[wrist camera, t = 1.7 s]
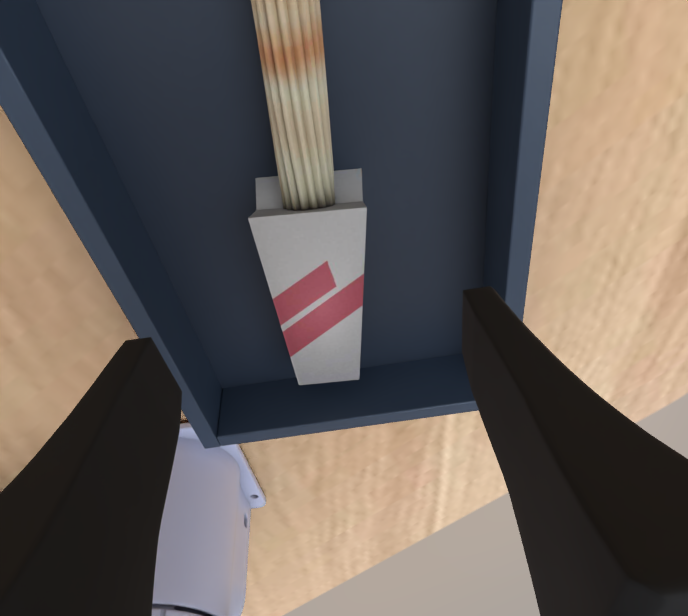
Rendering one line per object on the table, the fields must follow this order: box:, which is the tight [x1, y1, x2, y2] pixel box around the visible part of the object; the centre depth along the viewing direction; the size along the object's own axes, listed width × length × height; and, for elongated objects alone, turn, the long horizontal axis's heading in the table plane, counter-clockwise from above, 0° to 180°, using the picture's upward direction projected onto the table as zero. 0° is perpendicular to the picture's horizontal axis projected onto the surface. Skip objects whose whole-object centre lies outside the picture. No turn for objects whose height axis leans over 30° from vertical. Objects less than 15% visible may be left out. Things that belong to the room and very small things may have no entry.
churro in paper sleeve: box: [248, 0, 367, 385], centre depth 18 cm, size 4×3×20 cm
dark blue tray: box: [0, 0, 563, 449], centre depth 18 cm, size 24×15×3 cm, turn 8°
